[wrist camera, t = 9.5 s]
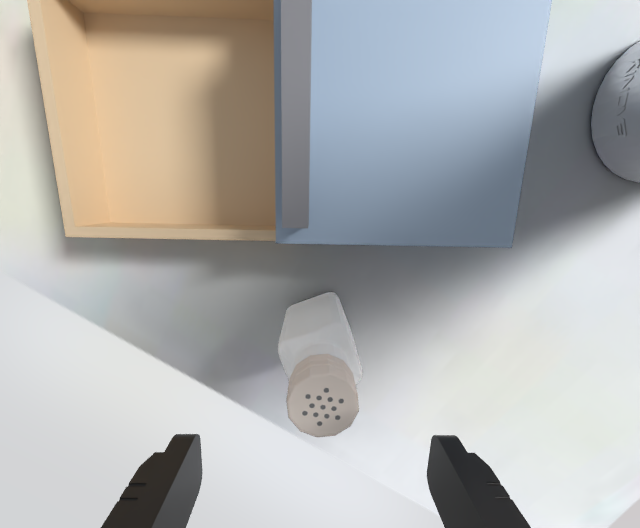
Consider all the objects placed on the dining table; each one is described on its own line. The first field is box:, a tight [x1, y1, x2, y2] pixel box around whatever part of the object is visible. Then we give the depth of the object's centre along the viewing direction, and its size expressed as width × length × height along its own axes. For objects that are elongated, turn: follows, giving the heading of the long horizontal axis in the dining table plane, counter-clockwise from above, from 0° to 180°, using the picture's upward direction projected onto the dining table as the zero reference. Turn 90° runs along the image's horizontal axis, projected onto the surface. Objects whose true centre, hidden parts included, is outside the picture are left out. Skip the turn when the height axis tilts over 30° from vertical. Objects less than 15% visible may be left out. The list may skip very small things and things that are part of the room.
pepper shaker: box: [278, 292, 363, 437], centre depth 18 cm, size 4×4×10 cm
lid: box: [274, 0, 552, 248], centre depth 14 cm, size 13×13×3 cm
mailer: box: [27, 0, 276, 241], centre depth 17 cm, size 13×13×4 cm
